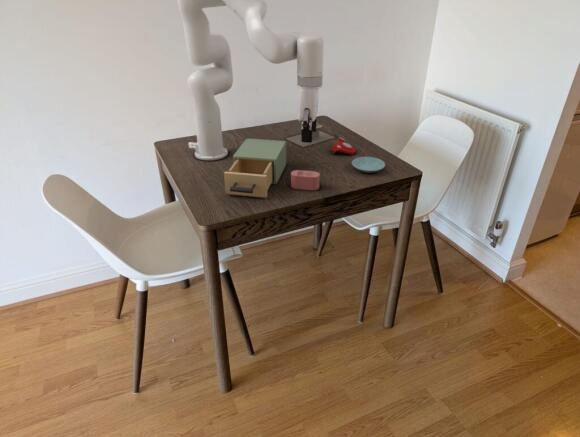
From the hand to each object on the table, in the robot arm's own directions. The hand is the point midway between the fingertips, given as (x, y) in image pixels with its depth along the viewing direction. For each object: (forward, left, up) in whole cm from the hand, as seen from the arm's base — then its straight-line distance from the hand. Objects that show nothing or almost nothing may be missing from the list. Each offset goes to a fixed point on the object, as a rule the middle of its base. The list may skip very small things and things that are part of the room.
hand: (309, 136), depth 134 cm
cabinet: (-18, +6, -17) cm, 25 cm away
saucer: (+19, +16, -17) cm, 30 cm away
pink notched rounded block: (-1, -2, -17) cm, 17 cm away
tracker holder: (+9, +32, -17) cm, 38 cm away
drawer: (-18, -8, -16) cm, 25 cm away
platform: (-6, +43, -17) cm, 47 cm away
